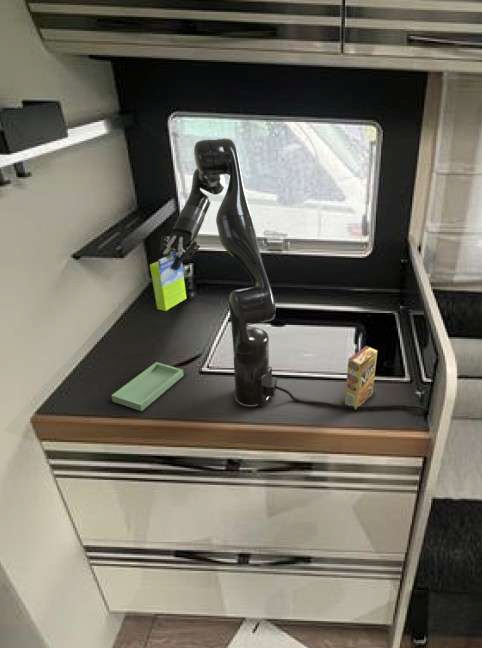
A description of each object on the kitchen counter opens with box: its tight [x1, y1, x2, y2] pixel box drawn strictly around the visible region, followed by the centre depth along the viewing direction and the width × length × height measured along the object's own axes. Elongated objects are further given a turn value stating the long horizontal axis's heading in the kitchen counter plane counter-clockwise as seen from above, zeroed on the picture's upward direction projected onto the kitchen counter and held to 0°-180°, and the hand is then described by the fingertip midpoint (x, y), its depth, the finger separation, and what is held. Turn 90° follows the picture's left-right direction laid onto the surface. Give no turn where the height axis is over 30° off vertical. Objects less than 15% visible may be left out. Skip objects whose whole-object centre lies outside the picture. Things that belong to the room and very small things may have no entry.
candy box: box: [344, 345, 378, 410], centre depth 111 cm, size 9×4×15 cm, turn 144°
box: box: [149, 251, 187, 312], centre depth 127 cm, size 10×4×17 cm, turn 161°
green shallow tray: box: [111, 361, 185, 412], centre depth 112 cm, size 10×17×2 cm, turn 161°
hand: (168, 267), depth 126 cm, fingers closed on box, 4 cm apart
